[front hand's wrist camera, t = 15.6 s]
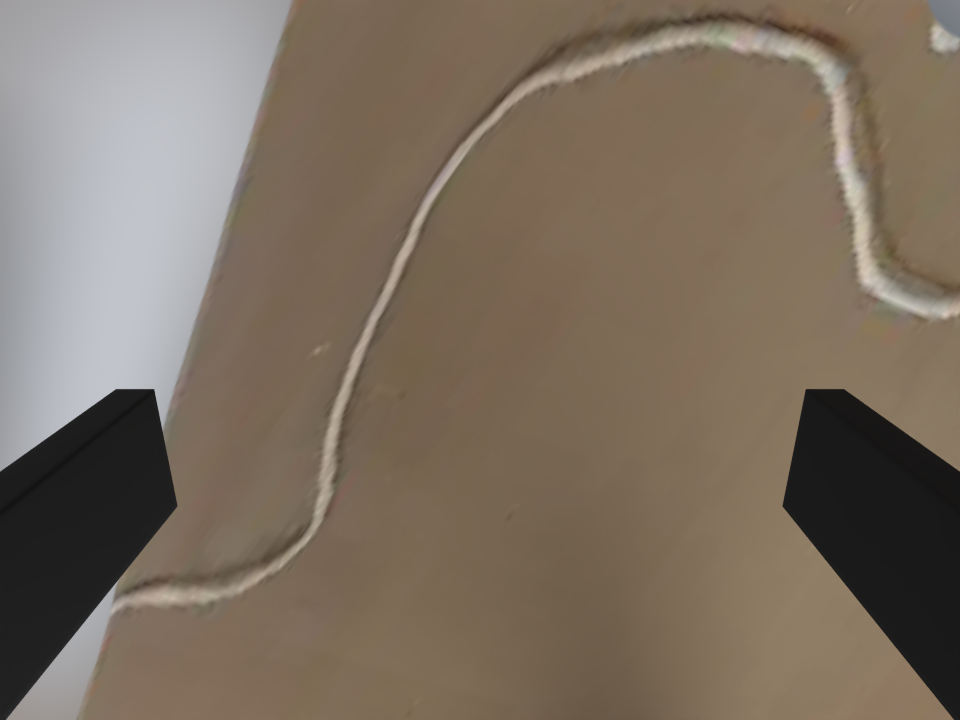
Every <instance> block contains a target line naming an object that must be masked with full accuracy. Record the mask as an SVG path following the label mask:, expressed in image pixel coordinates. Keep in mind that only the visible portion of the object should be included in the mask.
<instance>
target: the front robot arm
mask: <svg viewBox="0 0 960 720" xmlns="http://www.w3.org/2000/svg"><path fill="white" fill-rule="evenodd" d="M176 507H177V501H176V496H175V491H174V486H173V481H172V476H171V471H170V466H169V461H168V456H167V451H166V446H165V441H164V436H163V431H162V426H161V421H160V416H159V411H158V406H157V401H156V396H155V391H154V389H116V390H114V391H113V392H112V393H110V394H109V395H107V396H106V397H104V398H103V399H102V400H100V401H99V402H97V403H96V404H95V405H93V406H92V407H90V408H89V409H88V410H86V411H85V412H83V413H82V414H81V415H79V416H78V417H76V418H75V419H74V420H72V421H71V422H69V423H68V424H67V425H65V426H64V427H62V428H61V429H60V430H58V431H57V432H55V433H54V434H53V435H51V436H50V437H48V438H47V439H45V440H44V441H43V442H41V443H40V444H38V445H37V446H36V447H34V448H33V449H31V450H30V451H29V452H27V453H26V454H24V455H23V456H22V457H20V458H19V459H17V460H16V461H15V462H13V463H12V464H10V465H9V466H8V467H6V468H5V469H3V470H2V471H1V472H0V720H6V719H7V718H8V716H9V715H10V714H11V713H12V711H13V710H14V709H15V708H16V706H17V705H18V704H19V703H20V701H21V700H22V699H23V698H24V696H25V695H26V694H27V693H28V691H29V690H30V689H31V688H32V686H33V685H34V684H35V683H36V682H37V680H38V679H39V678H40V676H41V675H42V674H43V673H44V672H45V670H46V669H47V668H48V667H49V665H50V664H51V663H52V662H53V660H54V659H55V658H56V657H57V655H58V654H59V653H60V652H61V650H62V649H63V648H64V647H65V645H66V644H67V643H68V642H69V640H70V639H71V638H72V637H73V636H74V634H75V633H76V632H77V631H78V629H79V628H80V627H81V626H82V624H83V623H84V622H85V621H86V619H87V618H88V617H89V616H90V614H91V613H92V612H93V611H94V609H95V608H96V607H97V606H98V604H99V603H100V602H101V601H102V599H103V598H104V597H105V596H106V594H107V593H108V592H109V591H110V589H111V588H112V587H113V586H114V585H115V583H116V582H117V581H118V580H119V578H120V577H121V576H122V575H123V573H124V572H125V571H126V570H127V568H128V567H129V566H130V565H131V563H132V562H133V561H134V560H135V558H136V557H137V556H138V555H139V553H140V552H141V551H142V550H143V548H144V547H145V546H146V545H147V544H148V542H149V541H150V540H151V539H152V537H153V536H154V535H155V534H156V532H157V531H158V530H159V529H160V527H161V526H162V525H163V524H164V522H165V521H166V520H167V519H168V517H169V516H170V515H171V514H172V512H173V511H174V510H175V509H176ZM783 507H784V509H785V510H786V511H787V512H788V514H789V515H790V516H791V517H792V519H793V520H794V521H795V522H796V524H797V525H798V526H799V527H800V529H801V530H802V531H803V532H804V534H805V535H806V536H807V537H808V539H809V540H810V541H811V542H812V544H813V545H814V546H815V547H816V548H817V550H818V551H819V552H820V553H821V555H822V556H823V557H824V558H825V560H826V561H827V562H828V563H829V565H830V566H831V567H832V568H833V570H834V571H835V572H836V573H837V575H838V576H839V577H840V578H841V580H842V581H843V582H844V583H845V585H846V586H847V587H848V588H849V590H850V591H851V592H852V593H853V594H854V596H855V597H856V598H857V599H858V601H859V602H860V603H861V604H862V606H863V607H864V608H865V609H866V611H867V612H868V613H869V614H870V616H871V617H872V618H873V619H874V621H875V622H876V623H877V624H878V626H879V627H880V628H881V629H882V631H883V632H884V633H885V634H886V636H887V637H888V638H889V639H890V641H891V642H892V643H893V644H894V645H895V647H896V648H897V649H898V650H899V652H900V653H901V654H902V655H903V657H904V658H905V659H906V660H907V662H908V663H909V664H910V665H911V667H912V668H913V669H914V670H915V672H916V673H917V674H918V675H919V677H920V678H921V679H922V680H923V682H924V683H925V684H926V685H927V687H928V688H929V689H930V690H931V691H932V693H933V694H934V695H935V696H936V698H937V699H938V700H939V701H940V703H941V704H942V705H943V706H944V708H945V709H946V710H947V711H948V713H949V714H950V715H951V716H952V718H953V719H954V720H960V472H959V471H958V470H957V469H955V468H954V467H952V466H951V465H950V464H948V463H947V462H945V461H944V460H943V459H941V458H940V457H938V456H937V455H936V454H934V453H933V452H931V451H930V450H929V449H927V448H926V447H924V446H923V445H922V444H920V443H919V442H917V441H916V440H915V439H913V438H912V437H910V436H909V435H908V434H906V433H905V432H903V431H902V430H900V429H899V428H898V427H896V426H895V425H893V424H892V423H891V422H889V421H888V420H886V419H885V418H884V417H882V416H881V415H879V414H878V413H877V412H875V411H874V410H872V409H871V408H870V407H868V406H867V405H865V404H864V403H863V402H861V401H860V400H858V399H857V398H856V397H854V396H853V395H851V394H850V393H849V392H847V391H846V390H844V389H806V391H805V396H804V401H803V406H802V411H801V416H800V421H799V426H798V431H797V436H796V441H795V446H794V451H793V456H792V461H791V466H790V471H789V476H788V481H787V486H786V491H785V496H784V501H783Z"/></svg>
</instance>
